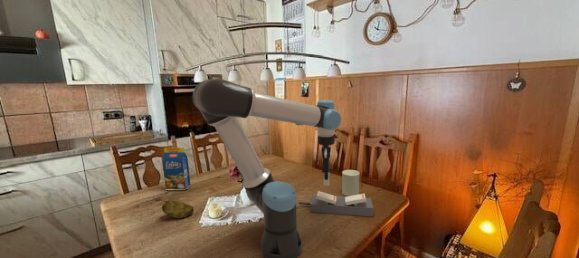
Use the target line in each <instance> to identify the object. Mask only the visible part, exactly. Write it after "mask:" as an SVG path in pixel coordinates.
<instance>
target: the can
mask: <svg viewBox="0 0 579 258" xmlns="http://www.w3.org/2000/svg"><path fill="white" fill-rule="evenodd" d="M341 175H342V177H341V184H342V185H341V186H342V188H341V193H342V195H344V196H345V197H348V196H353V195H358V194H360V171H359V170H355V169H345V170H343V171H342V172H341Z"/></svg>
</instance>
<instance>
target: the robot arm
mask: <svg viewBox="0 0 579 258" xmlns="http://www.w3.org/2000/svg"><path fill="white" fill-rule="evenodd" d="M192 102H193V104H194V106H195V107H196V109H197V110H199V111H200V113H201V115H202V117H203V118H204V120H205V122H206V123H207V125H208V126H212V127H214V128H215V130H216V132H217V134H218V136H219V137H220V139H221V141H222V142H223V144H224V146H225V147H226V150H227V151H228V153H229V155H230V157H231V158H232V161H233V162H234V164H235V166H236V168H237V169H238V171H239V172H240V175H241V177H243V181H242V186H243V188H244V189H245V194H246V196H247V198H248V199H249V201H251V202H252V203H253V204H254V206H256V207H257V209H258V210H259V211H260V212H261V213H262V215H263V223H264V224H263V225H264V227H263V229H264V231H263V233H262V237H261V241H260V253H261V255H262V257H264V258H297V257H298V256H299V255H300V254H301V253H302V250H303V241H302V237H301V234H300V232H299V230H298V224H297V221H298V220H297V193H296V189H295V187H294V186H293V185H292V184H290V183H287V182H283V181H279V180H277V181H276V180H275V178H274V176H273V175H272V172H271V170H270V169H268V168H266V167H264V166H263V164H262V162H261V159H260V158H259V156H258V154H257V152H256V150H255V149H254V146H253V145H252V143H251V141H250V139H249V137H248V135H247V133H246V131H245V129H244V127H243V126H242V125H243V124H242V123H241V122H240V120H239V118H240V119H241V118H243V119H247V118H248V117H255V118H260V119H267V120H272V121H273V120H274V121H279V122H285V123H291V124H295V126H309V127H314V128H317V129H316V131H317V144H318V145H320V146H322V147H321V156H322V170H321V173H322V174H323V177H322V179H323V181H322V182H323V186H325V187H326V186H327V187H329V186H330V172H331V171H332V170H331V168H330V158H331V152H332V151H331V150H332V147H331V146H332V145H335V142H336V141H335V139H336V138H335V132H336V130H337V129H338V128H339V127H340V126H341V123H342V115H341V112H339V111H338V110H337V109H336V106H335V101H333V100H330V99H328V100H325V99H324V100H318V101H317V104H316V105H312V104H308V103H304V102H299V101H295V100H291V99H287V98H286V99H285V98H282V97H278V96H272V95H267V94H264V93H261V92H255V91H254V90H253V88H251V87H248V86H245V85H241V84H237V83H235V82H231V81H229V80H225V79H222V78H212V79H211V78H210V79H206V80H202V81H201V82H199V83H198V84H196V86H195V88H194V90H193V92H192Z"/></svg>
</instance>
